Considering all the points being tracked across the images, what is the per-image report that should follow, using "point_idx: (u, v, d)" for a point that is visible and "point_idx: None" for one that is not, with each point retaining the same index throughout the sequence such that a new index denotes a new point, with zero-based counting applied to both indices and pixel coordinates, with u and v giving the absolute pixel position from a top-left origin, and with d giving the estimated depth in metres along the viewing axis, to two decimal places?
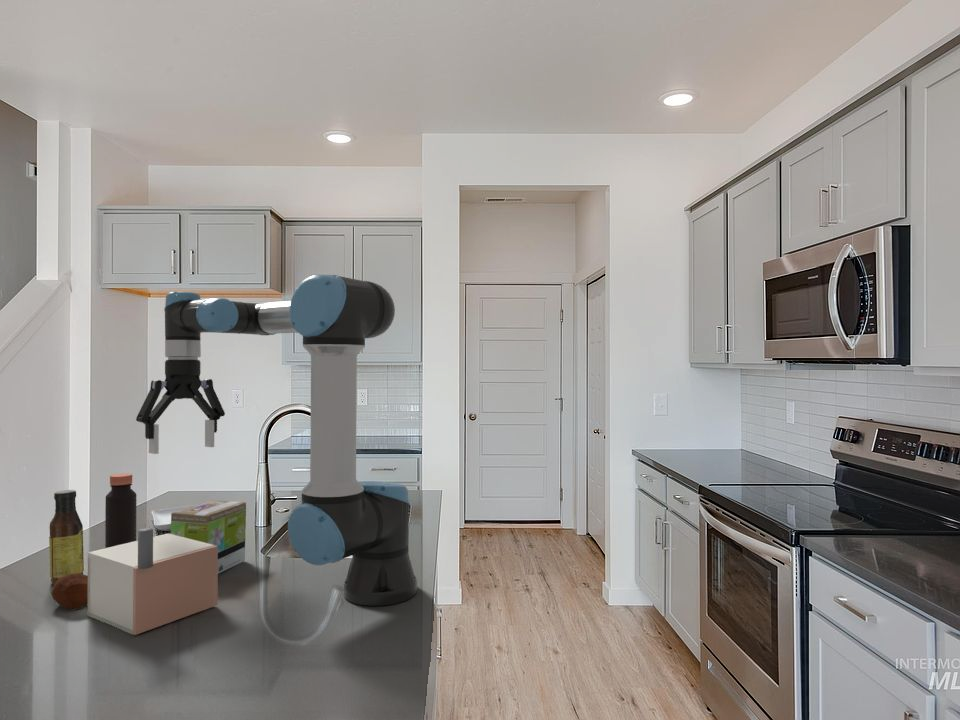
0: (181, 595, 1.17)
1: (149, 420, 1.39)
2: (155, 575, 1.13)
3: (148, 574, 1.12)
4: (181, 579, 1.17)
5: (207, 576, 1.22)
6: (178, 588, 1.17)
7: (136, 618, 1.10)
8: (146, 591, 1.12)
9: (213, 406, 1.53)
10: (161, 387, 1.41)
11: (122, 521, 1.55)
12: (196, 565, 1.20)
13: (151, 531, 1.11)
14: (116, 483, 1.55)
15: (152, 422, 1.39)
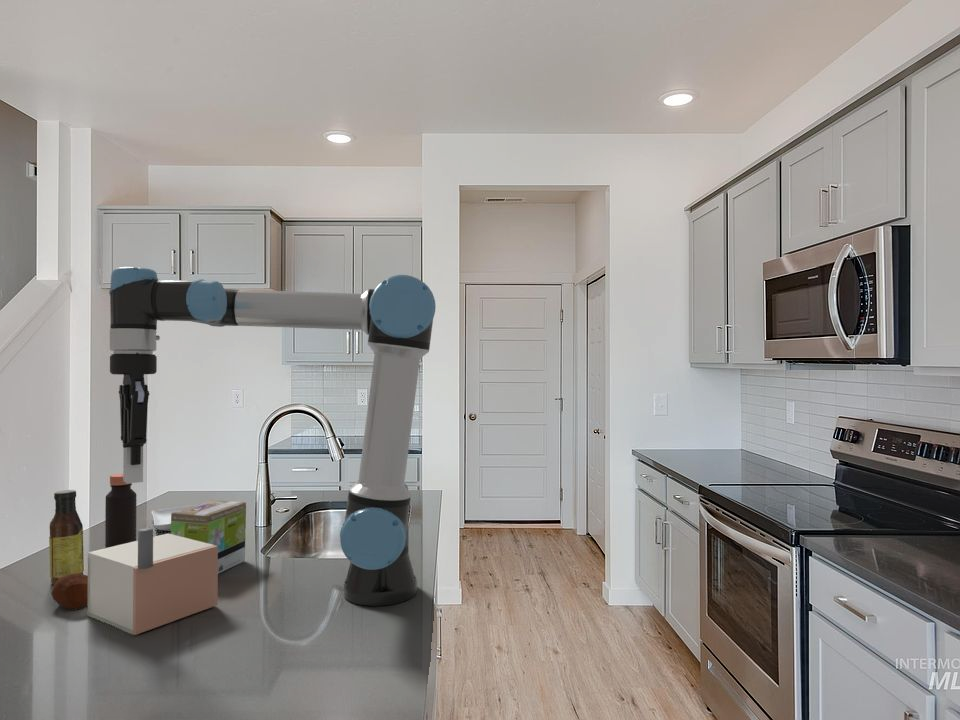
0: (181, 595, 1.17)
1: None
2: (155, 575, 1.13)
3: (148, 574, 1.12)
4: (181, 579, 1.17)
5: (207, 576, 1.22)
6: (178, 588, 1.17)
7: (136, 618, 1.10)
8: (146, 591, 1.12)
9: None
10: (121, 395, 1.18)
11: (122, 521, 1.55)
12: (196, 565, 1.20)
13: (151, 531, 1.11)
14: (116, 483, 1.55)
15: (123, 442, 1.15)
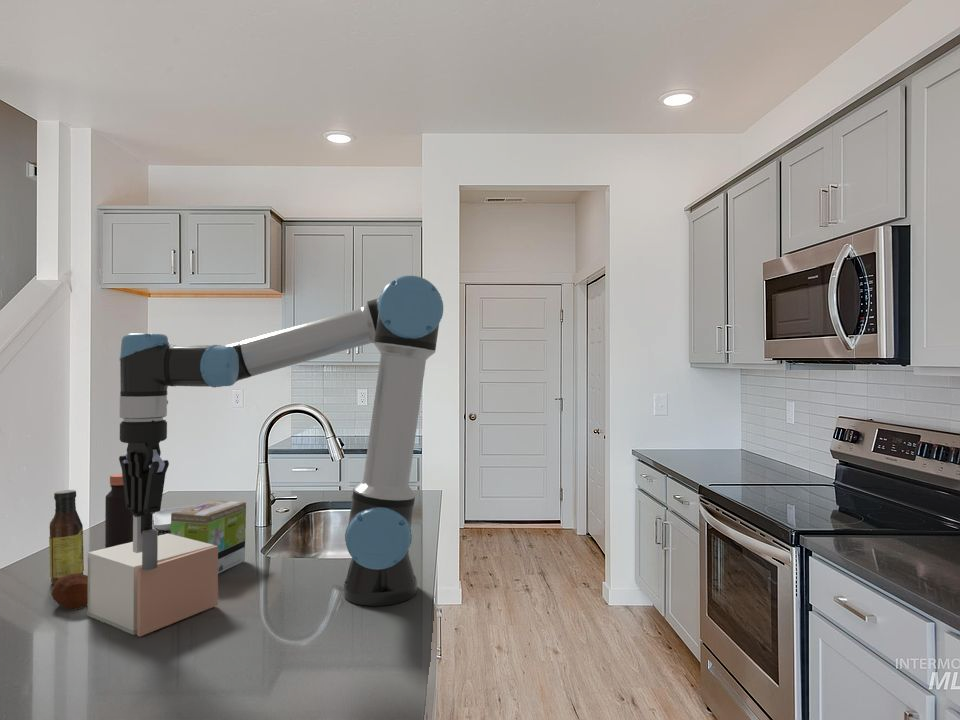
0: (183, 596, 1.17)
1: None
2: (159, 576, 1.12)
3: (152, 575, 1.11)
4: (183, 580, 1.17)
5: (208, 576, 1.22)
6: (180, 589, 1.16)
7: (140, 620, 1.09)
8: (150, 592, 1.11)
9: None
10: (123, 462, 1.14)
11: (122, 521, 1.55)
12: (198, 566, 1.20)
13: (156, 532, 1.10)
14: (116, 483, 1.55)
15: (132, 511, 1.12)
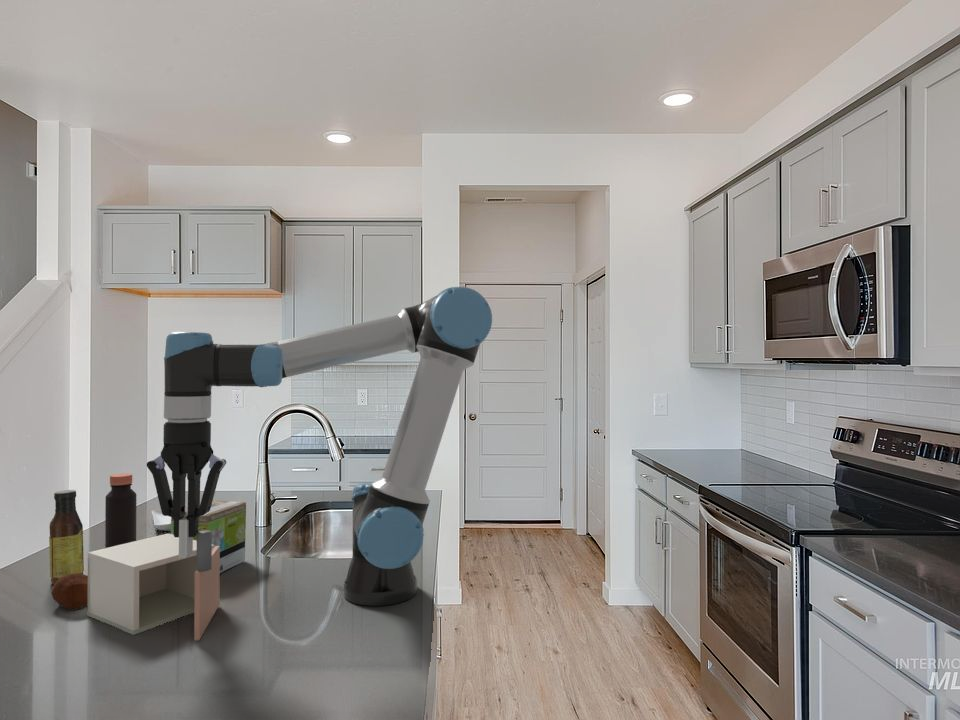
0: (210, 597, 1.16)
1: None
2: (204, 578, 1.11)
3: (202, 577, 1.10)
4: (210, 580, 1.16)
5: (217, 576, 1.22)
6: (210, 590, 1.16)
7: (199, 623, 1.08)
8: (202, 595, 1.10)
9: None
10: (156, 467, 1.08)
11: (122, 521, 1.55)
12: (214, 566, 1.19)
13: None
14: (116, 483, 1.55)
15: (176, 516, 1.08)
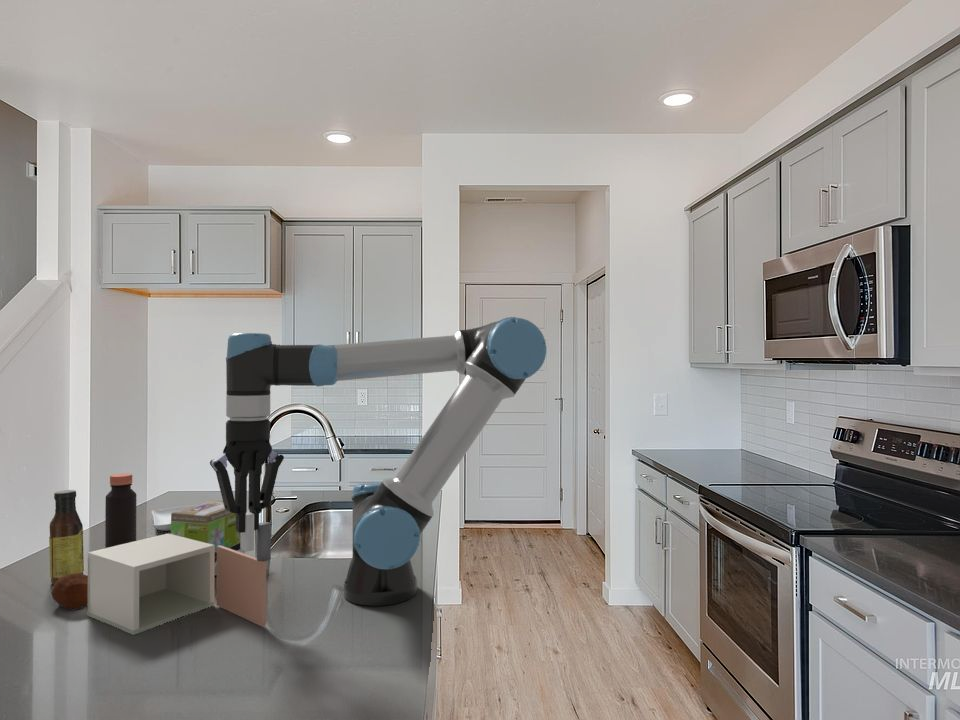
0: None
1: (239, 510, 1.11)
2: None
3: None
4: None
5: None
6: None
7: (265, 610, 1.14)
8: None
9: (263, 490, 1.15)
10: (224, 466, 1.09)
11: (122, 521, 1.55)
12: None
13: None
14: (116, 483, 1.55)
15: (243, 512, 1.11)
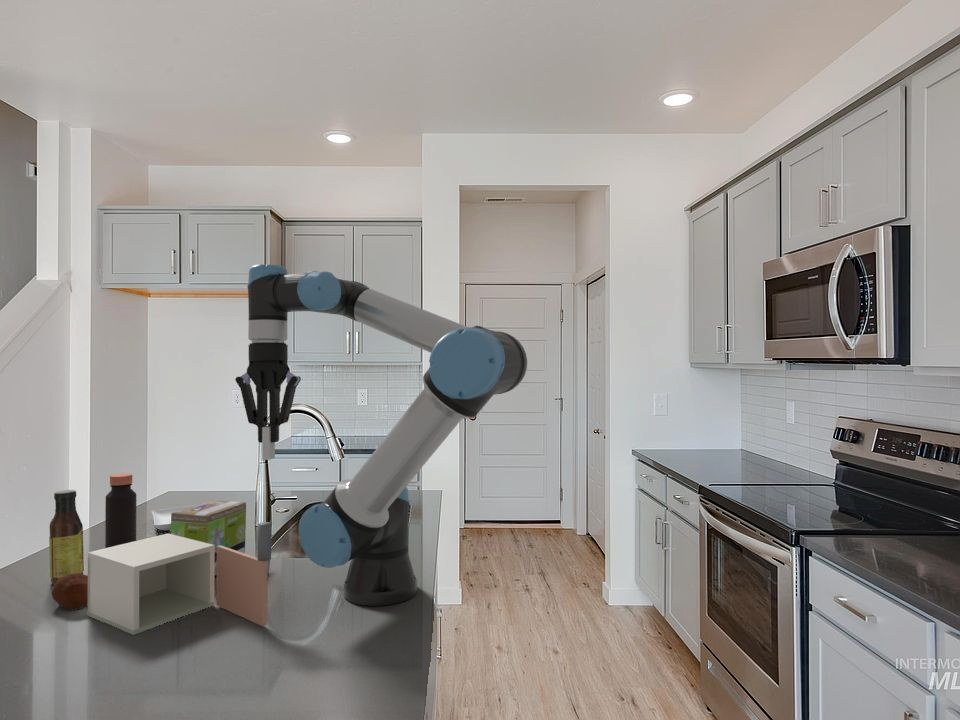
0: None
1: None
2: None
3: None
4: None
5: None
6: None
7: (266, 609, 1.14)
8: None
9: None
10: (243, 382, 1.26)
11: (122, 521, 1.55)
12: None
13: None
14: (116, 483, 1.55)
15: (259, 424, 1.25)
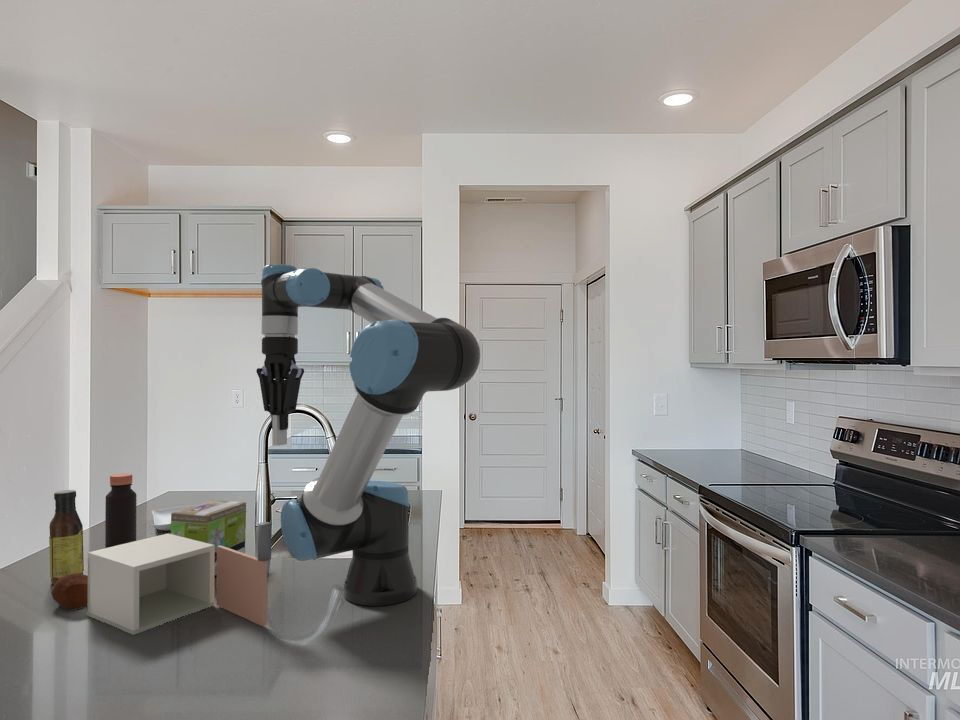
0: None
1: None
2: None
3: None
4: None
5: None
6: None
7: (266, 609, 1.14)
8: None
9: None
10: (261, 373, 1.38)
11: (122, 521, 1.55)
12: None
13: None
14: (116, 483, 1.55)
15: (271, 412, 1.36)
